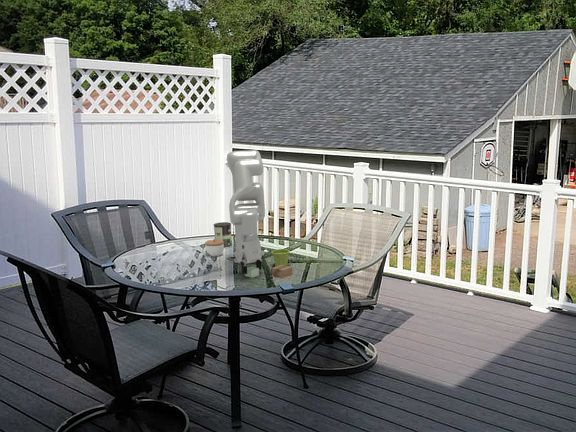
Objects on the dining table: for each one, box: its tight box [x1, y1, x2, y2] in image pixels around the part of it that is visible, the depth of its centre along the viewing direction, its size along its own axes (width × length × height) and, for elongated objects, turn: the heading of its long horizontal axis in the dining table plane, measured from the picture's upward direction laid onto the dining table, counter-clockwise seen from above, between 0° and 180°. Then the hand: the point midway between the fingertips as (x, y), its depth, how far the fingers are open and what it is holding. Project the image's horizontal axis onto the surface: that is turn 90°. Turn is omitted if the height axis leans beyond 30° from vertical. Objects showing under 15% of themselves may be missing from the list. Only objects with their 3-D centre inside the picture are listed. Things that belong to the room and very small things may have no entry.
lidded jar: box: [204, 238, 224, 257], centre depth 343 cm, size 11×11×9 cm
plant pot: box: [271, 248, 291, 267], centre depth 312 cm, size 9×9×9 cm
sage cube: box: [244, 266, 260, 278], centre depth 296 cm, size 5×5×5 cm
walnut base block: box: [271, 265, 293, 279], centre depth 294 cm, size 7×7×4 cm
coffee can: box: [213, 221, 233, 249], centre depth 361 cm, size 10×10×14 cm
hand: (251, 271), depth 295 cm, fingers open, 9 cm apart
